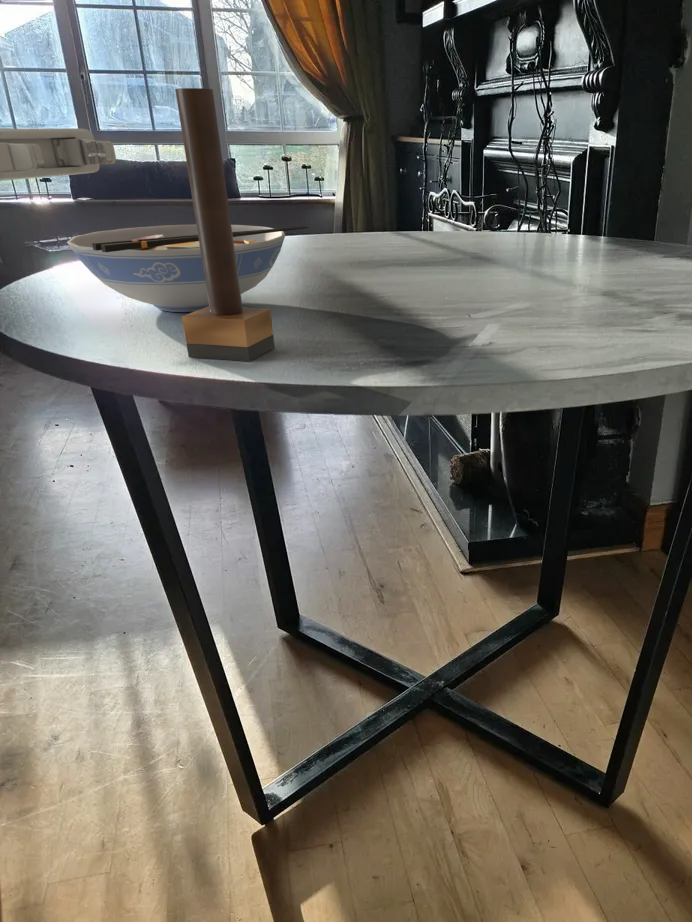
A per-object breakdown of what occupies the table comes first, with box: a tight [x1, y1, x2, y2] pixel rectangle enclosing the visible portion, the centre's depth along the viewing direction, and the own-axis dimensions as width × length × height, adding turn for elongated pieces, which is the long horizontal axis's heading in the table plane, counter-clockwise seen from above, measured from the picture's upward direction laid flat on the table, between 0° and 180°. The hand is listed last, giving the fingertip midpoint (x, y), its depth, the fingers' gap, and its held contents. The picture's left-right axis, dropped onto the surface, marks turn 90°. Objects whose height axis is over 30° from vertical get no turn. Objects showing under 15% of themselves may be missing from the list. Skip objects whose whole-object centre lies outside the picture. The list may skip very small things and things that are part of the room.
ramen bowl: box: [66, 224, 309, 313], centre depth 86 cm, size 25×23×8 cm
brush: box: [174, 87, 276, 362], centre depth 65 cm, size 6×5×20 cm
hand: (76, 154), depth 65 cm, fingers open, 8 cm apart
